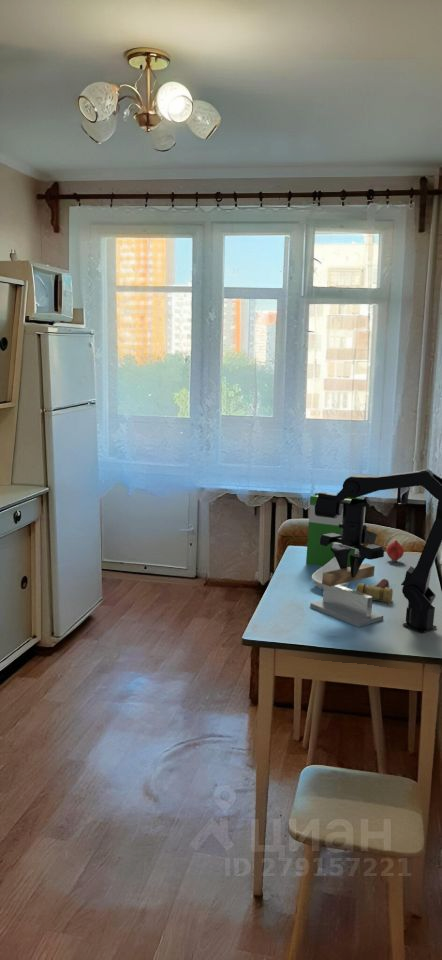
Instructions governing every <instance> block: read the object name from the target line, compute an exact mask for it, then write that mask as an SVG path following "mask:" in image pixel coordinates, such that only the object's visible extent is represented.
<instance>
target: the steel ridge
mask: <svg viewBox="0 0 442 960" xmlns="http://www.w3.org/2000/svg"><path fill="white" fill-rule="evenodd" d="M322 593H323V594H322V600H323V602H325V603H327V604H330V605H333V606H335V607H338V608H340V609H343V610H345V611H348V612H350V613H353V614H355V615H358V616H360V617H363V618H366V619H367V618H371V612H373V611H372V610H373V601H374V600H373V597H372V596H369V595H366V594H363V593H361V592H358V591H356V590H355V589H351V588H349V587H348V586H346V587H344V586H341V585H335V586H331V587H330V586H327V585H324V590H323V591H322Z"/></svg>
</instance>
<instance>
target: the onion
mask: <svg viewBox="0 0 442 960" xmlns="http://www.w3.org/2000/svg"><path fill="white" fill-rule="evenodd" d="M398 541H399V540H398V539H395V540H394V541H392V542H391V543H390V544H389V545H388V546H387V548H386V554H387V557H388V558H389V559H391V561H392V562H394V561H395V562H397V561H398V560H399V559H402V557H403V555H404V547H403V546H402V544H401V543H399V542H398Z"/></svg>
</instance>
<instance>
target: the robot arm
mask: <svg viewBox="0 0 442 960" xmlns="http://www.w3.org/2000/svg"><path fill="white" fill-rule="evenodd" d="M418 486H419V487H421V486H422V487H423V489H425V490H426V491H427V492H428V493H429V494H430V495H432V497H434V499H436V500H438V501H437V506H436V512H435V519H434V522H433V524H432V527H431V529H430V532H429V534H428V537H427V540H426V541H425V543H424V547H423V549H422V551H421V554H420V557H419V559H418V562H417V563H416V566H415V567H413V566H411V565H410V566H409V568H408V569H407V570H406V573H405V576H404V580H403V581H402V582H401V584H400V585H401V586H402V589H401V590H402V591H401V592H402V594H403V596H404V597H405V599H406V600H407V602H408V603H407V604H408V605H407V607H406V611H405V612H406V613H405V622H404V623H402V626H403V627H405V628H408V629H412V631H413V630H414V631H416V632H418V633H427V632H430V631H432V630H436V629H437V625H434V621H435V610H436V607H435V606H433V605H432V604H433V602H434V600H435V599H436V594H435V592H434V591H432V589H431V587H430V586H429V585H430V580H431V573H432V568H433V565H434V563H435V561H436V558H437V556H438V553H439V551H440V548H441V546H442V478H441V477H440V476H438V475H437V474H435V473H434V472H433V471H432V470H431V469H427V468H424V469H421V470H416V471H407V472H399V473H392V474H383V475H375V474H374V475H373V474H365V473H364V474H363V473H361V474H360V473H356V474H352V475H351V476H349V477H347V478H346V479H345V480H344V481H343V484H342V489H340V491H338V492H337V493H336V494H335V493H330V492H329V493H328V492H325V491H320V492H317V493H318V498H317V501H316V505H315V515H316V516H320V517H328V518H335V519H336V518H337V517H338V515H341V514H342V510H343V518H342V523H341V524H339V528H342V532H341V535H339V534H336V533H329V534H323V535H322V536H321V537H320V545H323V546H329V545H330V543H332V544H333V545H332V548H331V549H330V550H331V551H332V552H333V554H334V556H335V558H336V560H337V562H338V564H339V567H340V569H343V568H347V564H348V554H349V553H350V551H351V549H352V550H355V554H352V555H350V567H351V576H352V578H354V577H356V574H357V572H358V570H359V568H360V566H361V564H363V562H364V561H365V559H366V560H375V559H380V558H384V557H385V549H384V548H383V546H381V545H378V544H376V540H377V537H378V533H375V532H372V531H370V530H367V529H368V526H367V524H365V522H364V509H365V507H366V508H370V507H372V506H373V502H372V501H371V500H370V499H369V497H368V496H366V495H369V494H372V493H374V492H377V491H384V490H385V491H386V490H394V489H403V488H410V487H411V488H412V487H418ZM363 496H365V497H363ZM348 497H350V498H352V500H351V501H346V500H344V499H346V498H348ZM357 497H360V498H361V497H363V498H364V499H356V498H357ZM365 510H366V509H365ZM363 522H364V524H363ZM362 544H363V545H362ZM364 544H365V545H364ZM354 546H356V547H354Z"/></svg>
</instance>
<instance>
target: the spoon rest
mask: <svg viewBox="0 0 442 960" xmlns="http://www.w3.org/2000/svg"><path fill="white" fill-rule="evenodd" d="M347 568H348V567H347ZM339 569H340V567H339V564H338V562H337V560H336V558H335V557H334V558H332V559H331V560H330V561H329V562H328V563H327V564H325V565H324V566H323V567H321V566H320V567H319V568H318V569H317V570H316V571H315V572H314V573H312V575H311V581H312V582H313V584H314V585H315V586H316V587H318V588H319V589H320V590H323V591H324V584H322V577H323V573H325V572H330V571H334V570H339ZM349 584H350V582H348V583H343V584H339V585H341V586H344V587H348V585H349Z"/></svg>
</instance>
